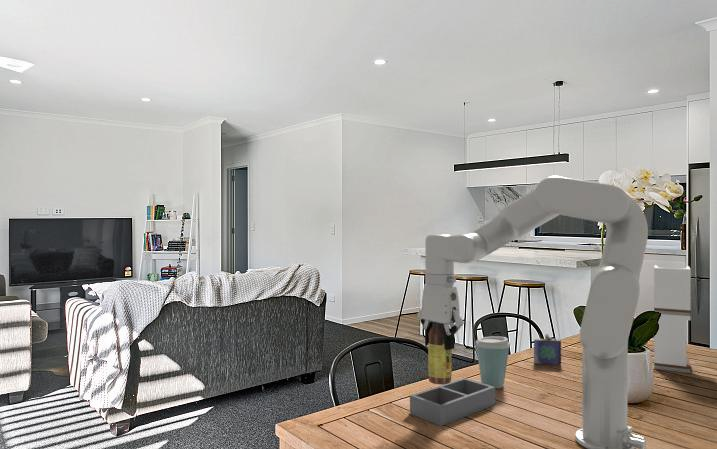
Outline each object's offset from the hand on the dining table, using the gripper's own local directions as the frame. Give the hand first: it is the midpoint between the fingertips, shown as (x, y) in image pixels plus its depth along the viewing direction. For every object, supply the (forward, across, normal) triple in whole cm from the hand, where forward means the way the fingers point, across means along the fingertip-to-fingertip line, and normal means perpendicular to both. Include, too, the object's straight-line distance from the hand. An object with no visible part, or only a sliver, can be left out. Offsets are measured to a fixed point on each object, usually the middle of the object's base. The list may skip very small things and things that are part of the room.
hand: (439, 346), depth 140 cm
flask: (+19, +6, -65) cm, 67 cm away
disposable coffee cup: (+19, +5, -31) cm, 36 cm away
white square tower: (+18, -24, -95) cm, 99 cm away
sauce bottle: (+10, 0, 0) cm, 10 cm away
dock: (+18, 0, -6) cm, 19 cm away
